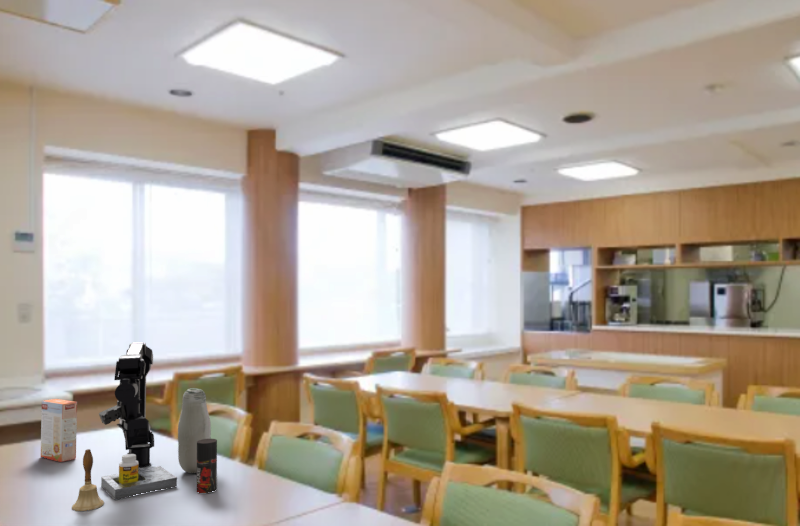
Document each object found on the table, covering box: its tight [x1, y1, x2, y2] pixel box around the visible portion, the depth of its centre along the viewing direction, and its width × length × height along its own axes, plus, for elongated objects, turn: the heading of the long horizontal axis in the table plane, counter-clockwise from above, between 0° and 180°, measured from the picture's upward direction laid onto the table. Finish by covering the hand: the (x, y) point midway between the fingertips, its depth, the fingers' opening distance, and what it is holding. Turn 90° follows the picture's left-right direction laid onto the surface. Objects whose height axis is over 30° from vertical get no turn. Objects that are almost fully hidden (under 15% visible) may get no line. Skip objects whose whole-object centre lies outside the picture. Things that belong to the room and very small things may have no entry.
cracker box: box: [40, 398, 78, 463], centre depth 225 cm, size 14×6×21 cm, turn 58°
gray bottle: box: [177, 387, 212, 474], centre depth 208 cm, size 10×10×28 cm
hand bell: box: [71, 448, 105, 512], centre depth 176 cm, size 8×8×16 cm
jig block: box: [100, 465, 178, 501], centre depth 192 cm, size 18×16×3 cm
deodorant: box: [196, 438, 218, 494], centre depth 189 cm, size 6×6×15 cm
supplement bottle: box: [118, 453, 139, 485], centre depth 190 cm, size 6×6×10 cm
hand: (129, 447), depth 191 cm, fingers closed
